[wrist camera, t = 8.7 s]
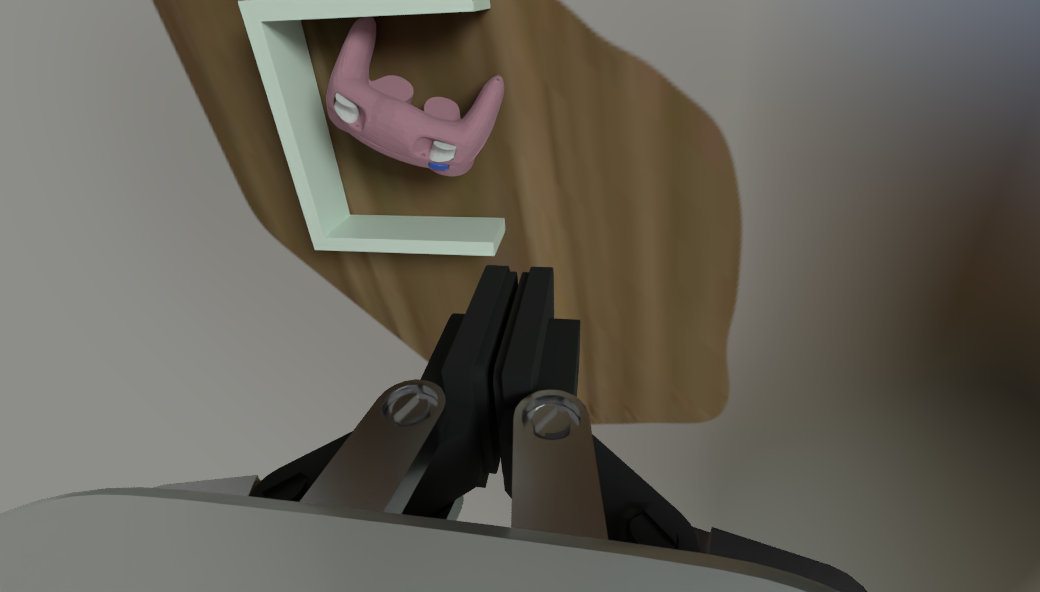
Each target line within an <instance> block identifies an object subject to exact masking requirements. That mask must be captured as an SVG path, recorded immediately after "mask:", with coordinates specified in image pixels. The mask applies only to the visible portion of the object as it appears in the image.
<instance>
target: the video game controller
mask: <svg viewBox="0 0 1040 592" xmlns="http://www.w3.org/2000/svg"><path fill="white" fill-rule="evenodd" d="M375 40H376V23H375V21H374V18H373V17H372V16H367V17H361V18H359V19H358V20H357V21H356V22H355V23H354V24H353V26H352V27H351V29H350V31H349V33H348V35H347V37H346V40H345V42H344V44H343V46H342V48H341V51H340V53H339V56H338V58H337V61H336V63H335V66H334V68H333V71H332V74H331V76H330V80H329V84H328V90H327V92H326V103H327V111H328V116H329V118H330V119H331V121H332V122H333V123H334V125H336V126H337V127H338V128H339V129H341V130H343V131H345V132H348V133H350V134H351V135H352V136H353V137H355V138H356V139H358V140H359V141H360V142H362V143H364V144H365V145H367V146H369V147H371V148H372V149H374V150H376V151H378V152H380V153H382V154H384V155H386V156H389V157H392V158H394V159H397V160H399V161H402V162H406V163H409V164H412V165H416V166H420V167H425V168H430V169H431V170H432V171H434V172H435V173H438V174H441V175H444V176H459V175H462V174H464V173H466V172H467V171H468V170H470V168H471V167H472V165H473V163H474V159H475V157H476V155H477V154H478V153H479V151H480V150H481V149H482V147H483V146H484V144H485V142H486V141H487V139H488V137H489V135H490V133H491V131H492V128H493V126H494V123H495V120H496V117H497V114H498V111H499V108H500V105H501V103H502V99H503V95H504V82H503V79H502V77H501V76H499V75H497V76H494V77H492V78H491V79H489V81H488V82H487V83H486V84H485V85H484V86H483V87H482V89H481V91H480V93H479V95H478V96H477V98H476V100H475V102H474V104H473V105H472V107H471V108H470V110H469V111H468V112H467V113H466V115H465V116H464V117H463V118H462V119H461V118H460V110H459V107H458V105H457V104H456V103H455V102H453V101H452V100H450V99H447V98H444V97H432V98H430V99H428V100H427V101H426V103H425V105H424V111H422V110H420V109H418V108H416V107H415V106H413V105H412V98H413V87H412V85H411V84H410V83H409V82H408V81H406V80H405V79H404V78H402V77H399V76H395V75H388V76H385V77H382V78H380V79H378V80H375V81H370V79H369V66H370V63H371V59H372V55H373V51H374V46H375Z"/></svg>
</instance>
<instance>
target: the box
mask: <svg viewBox="0 0 1040 592" xmlns="http://www.w3.org/2000/svg"><path fill="white" fill-rule="evenodd" d="M238 4H239V7H240V10H241V13H242V17H243V20H244V23H245V26H246V29H247V33H248V36H249V39H250V42H251V46H252V49H253V52H254V55H255V59H256V62H257V65H258V68H259V72H260V75H261V78H262V81H263V84H264V88H265V91H266V94H267V97H268V101H269V104H270V107H271V110H272V114H273V117H274V120H275V123H276V126H277V130H278V133H279V136H280V139H281V143H282V146H283V149H284V152H285V156H286V159H287V162H288V165H289V169H290V172H291V175H292V178H293V181H294V185H295V188H296V191H297V194H298V198H299V201H300V204H301V207H302V211H303V214H304V217H305V220H306V223H307V227H308V230H309V233H310V236H311V240H312V243H313V246H314V249H315V250H330V251H359V252H389V253H418V254H448V255H477V256H495V253H496V251H497V249H498V246H499V244H500V242H501V239H502V237H503V235H504V232H505V219H504V218H482V217H434V216H387V215H350V213H349V209H348V205H347V201H346V197H345V193H344V189H343V185H342V181H341V177H340V173H339V169H338V165H337V161H336V157H335V153H334V149H333V146H332V142H331V138H330V134H329V130H328V126H327V122H326V118H325V114H324V110H323V106H322V102H321V98H320V94H319V90H318V86H317V82H316V78H315V75H314V71H313V67H312V63H311V59H310V55H309V51H308V47H307V43H306V39H305V35H304V31H303V27H302V23H301V20H305V19H325V18H346V17H367V16H388V15H408V14H429V13H450V12H470V11H479V10H484V9H490V0H248V1H238Z"/></svg>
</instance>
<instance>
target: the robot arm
mask: <svg viewBox="0 0 1040 592" xmlns="http://www.w3.org/2000/svg"><path fill="white" fill-rule="evenodd" d="M579 353H580V320H571V319H554V273H553V267H531V268H530V272H522V275H521V278H520V282H519V285H518V278H517V272H510V269H509V266H497V265H487V266H486V267H485V269H484V272H483V274H482V276H481V279H480V281H479V283H478V286H477V288H476V290H475V293H474V295H473V297H472V300H471V302H470V304H469V307H468V309H467V311H466V314H456V313H454V314H452V315H451V316H450V318H449V320H448V322H447V324H446V326H445V329H444V331H443V333H442V335H441V337H440V339H439V341H438V343H437V346H436V348H435V350H434V352H433V354H432V356H431V358H430V360H429V363H428V365H427V367H426V369H425V371H424V373H423V375H422V378H421V380H410V381H404V382H402V383H399V384H396V385H394V386H392V387H391V388H389V389H388V390H386V391H385V392H384V393H383V394H382V395H381V396H380V397H379V398H378V399H377V400H376V402H375V403H374V404H373V406H372V407H371V408H370V410H369V411H368V412H367V414H366V415H365V416H364V417H363V419H362V420H361V421H360V423H359V424H358V425H357V427H356V428H355V429H354V431H352V432H350V433H348V434H346V435H344V436H343V437H340V438H338V439H336V440H334V441H332V442H330V443H328V444H326V445H324V446H322V447H321V448H318V449H317V450H315V451H312V452H310V453H308V454H306V455H304V456H302V457H301V458H298V459H296V460H295V461H292V462H291V463H288V464H287V465H285V466H283V467H281V468H279V469H277V470H275V471H274V472H272V473H271V474H269V475H268V476H266V477H265V478H264V479H263V480H260V479H259V478H258V476H257V475H253V476H244V477H234V478H224V479H215V480H206V481H196V482H186V483H176V484H167V485H162V486H158V487H154V488H142V487H137V488H106V489H98V490H90V491H82V492H74V493H69V494H64V495H60V496H56V497H51V498H47V499H42V500H39V501H36V502H32V503H29V504H26V505H23V506H20V507H17V508H15V509H12V510H9V511H6V512H4V513H1V514H0V592H867V590H866V589H865V588H864V586H863V585H861V584H860V583H859V582H858V581H856V580H855V579H854V578H853V577H852V576H850V575H849V574H848V573H846V572H844V571H842V570H840V569H838V568H836V567H833V566H831V565H829V564H826V563H823V562H820V561H817V560H813V559H810V558H807V557H804V556H801V555H798V554H795V553H792V552H789V551H786V550H783V549H780V548H776V547H773V546H770V545H767V544H764V543H761V542H758V541H755V540H752V539H749V538H745V537H742V536H739V535H736V534H733V533H730V532H727V531H724V530H721V529H718V528H715V527H711V531H710V532H708V531H705V530H702V529H699V528H696V527H693V526H691V524H690V523H689V522H688V521H687V519H686V518H685V517H684V516H683V515H682V514H681V513H680V512H679V511H678V510H677V509H676V508H675V507H674V506H672V505H671V504H670V503H669V502H668V501H667V500H666V499H665V498H663V497H662V496H661V495H660V494H659V493H658V492H657V491H656V490H654V489H653V488H652V487H651V486H650V485H649V484H648V483H647V482H645V481H644V480H643V479H642V478H641V477H640V476H639V475H637V474H636V473H635V472H634V471H633V470H632V469H631V468H630V467H629V466H627V465H626V464H625V463H624V462H623V461H622V460H621V459H620V458H618V457H617V456H616V455H615V454H614V453H613V452H612V451H611V450H609V449H608V448H607V447H606V446H605V445H604V444H603V443H602V442H601V441H599V440H598V439H597V438H596V437H595V436H594V435H593V434H592V431H591V425H590V418H589V414H588V411H587V408H586V406H585V405H584V404H583V403H582V401H581V400H580V399H578V398H577V387H578V373H579ZM500 458H501V464H502V472H503V477H504V486H505V491H506V492H507V494H508V495H509V496H510V497H511V499H512V518H511V519H512V520H511V528H510V527H502V526H494V525H485V524H478V523H470V522H461V521H456V520H457V518H458V516H459V513H460V511H461V509H462V505H463V501H464V498H463V495H464V494H465V493H467V492H469V491H470V490H472V489H474V488H475V487H483V488H485V487H486V483H487V479H488V475H489V473H493V474H496V473H497V471H498V467H499V462H500Z"/></svg>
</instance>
